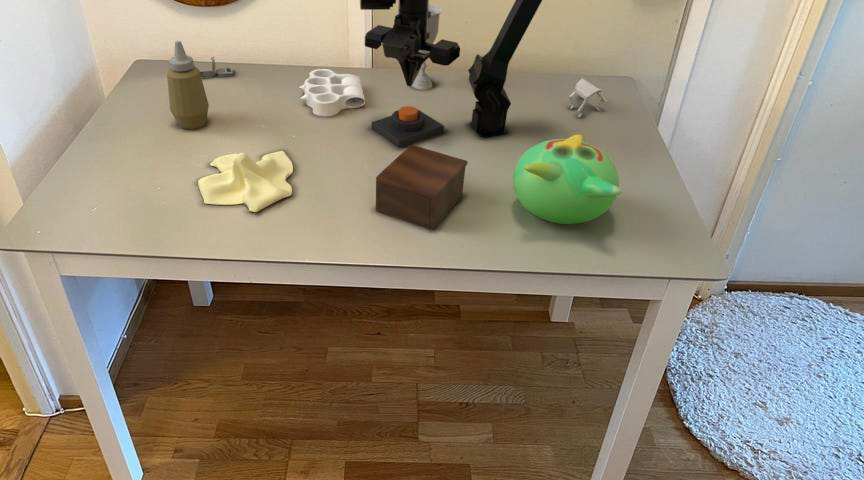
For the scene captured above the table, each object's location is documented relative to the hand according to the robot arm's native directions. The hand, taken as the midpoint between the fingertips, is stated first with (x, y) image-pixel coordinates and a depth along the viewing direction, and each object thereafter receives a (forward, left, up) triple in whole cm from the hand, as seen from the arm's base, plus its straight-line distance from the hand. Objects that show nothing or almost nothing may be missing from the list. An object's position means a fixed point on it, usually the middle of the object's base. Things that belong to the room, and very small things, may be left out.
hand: (409, 85), depth 141 cm
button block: (0, 0, -10) cm, 11 cm away
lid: (+8, +26, -4) cm, 27 cm away
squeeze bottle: (+43, -18, -11) cm, 48 cm away
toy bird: (-14, +38, -11) cm, 42 cm away
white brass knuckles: (+11, -20, -11) cm, 25 cm away
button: (0, 0, -7) cm, 7 cm away
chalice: (-12, -20, -11) cm, 26 cm away
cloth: (+36, +8, -11) cm, 38 cm away
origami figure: (-43, +2, -11) cm, 44 cm away
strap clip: (+34, -41, -11) cm, 54 cm away
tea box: (+8, +26, -10) cm, 29 cm away
